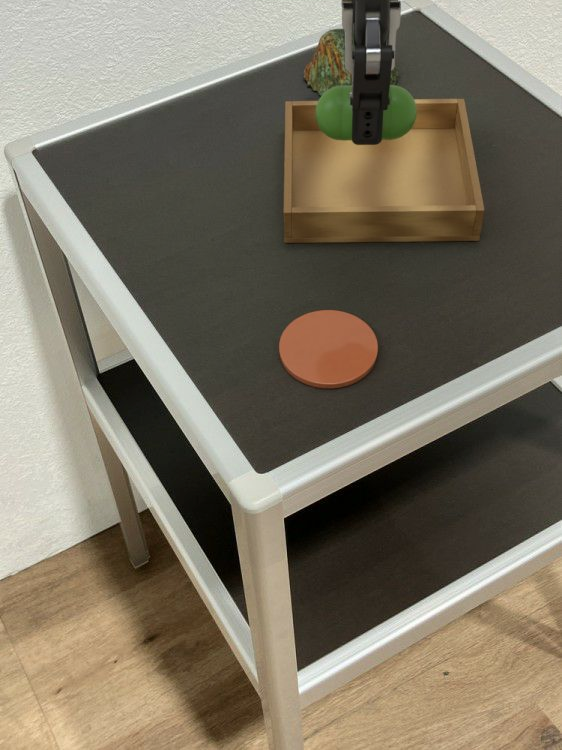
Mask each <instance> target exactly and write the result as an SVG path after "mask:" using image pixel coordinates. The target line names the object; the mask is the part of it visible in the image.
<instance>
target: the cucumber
mask: <svg viewBox="0 0 562 750" xmlns="http://www.w3.org/2000/svg"><path fill="white" fill-rule="evenodd" d="M350 91H352V85H348V86H336V87H333V88H331V89H329V90H327V91H326V92H325V93H324V94H323V95H322V96H321V95H320V97H319V99H318V100H317V101H318V103H317V106H316V113H315V114H316V121H317V124H318V126H319V128H320V129H321V131H322V132H323V133H324V134H325V135H326V136H328V137H330V138H332V139H335V140H342V141H345V140H352V105H350ZM389 97H390V105H388V109H387V110H383V127H382V140H394V139H398V138H400V137H402V136H404V135H405V134H406V133H408V132H409V131H410V129H411V128H412V127H413V125H414V123H415V120H416V116H417V107H416V104H415V101H414V99H415V98H414V97H413V96H412V94H411V93H410V92H409V91H408V90H407V89H406V88H404V87H402V86H399V85H390V88H389Z"/></svg>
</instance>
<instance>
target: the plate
mask: <svg viewBox="0 0 562 750" xmlns="http://www.w3.org/2000/svg"><path fill="white" fill-rule="evenodd" d="M278 344H279V345H278V355H279V359H280V362H281V364H282V366H283V367H284V370H286V372H287V373H288V374H289V375H290V376H291V377H292V378H294V379H295V380H296V381H298V382H300V383H302V384H304V385H307V386H309V387H313V388H318V389H329V390H330V389H331V390H332V389H339V388H344V387H348V386H351V385H353V384H356V383H357V382H359V381H361V380H362V379H364V378H365V377H366V376H367V375H369V374H370V373H371V371H372V369H373V368H374V366H375V365H376V363H377V360H378V354H379V343H378V339H377V336H376V333H375V332H374V330H372V327H370V325H369V324H367V322H365V321H364V320H362V319H361V318H359V317H358V316H356V315H354V314H352V313H349V312H345V311H341V310H335V309H320V310H314V311H310V312H308V313H305V314H303V315H300V316H298V317H297V318H295V319H293V321H292V322H290V323H288V325H287V326H286V327H285V329H284V330H283V331H282V334H281V336H280V337H279V342H278Z"/></svg>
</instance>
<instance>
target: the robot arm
mask: <svg viewBox="0 0 562 750" xmlns="http://www.w3.org/2000/svg"><path fill="white" fill-rule="evenodd" d="M340 2H341V27H342V29H344V36H345V68H346V70H347V71H348V72H350V73H351V85H352V91H350V105H352V142H353V143H354V144H356V145H377V144H379V143H380V142H381V141H382V127H383V110H387V109H388V105H390V97H389V88H390V78H391V71H392V70H393V69H394V67H395V65H396V49H397V48H396V45H397V31H398V30H399V28H400V27H401V17H402V16H401V15H402V1H401V0H341V1H340Z"/></svg>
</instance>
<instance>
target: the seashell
mask: <svg viewBox="0 0 562 750" xmlns="http://www.w3.org/2000/svg"><path fill="white" fill-rule="evenodd" d="M317 43H318V44H317V47H316V49H315V52H314V54H313V56H312V58H311V60H310V61H309V62H308V63H307V64H306V66H305V67H304V70H303V79H304V80H305V81H306V82H307V86H309V87H311V88H312V91H314V92H317V94H318V95H319V96H320V97H321V96H322V95H323V94H324V93H325V92H326V91H327V90H329V89H331V88H333V87H336V86H348V85H351V73H350V72H348V71H347V70H346V68H345V36H344V29H343V28H334V29H329V30H328V31H325V32H324V33H323V34H322V35H321V36H320V38H319V40H318V42H317ZM399 75H400V74H399V69H398V67H397V65H396V64H395V67H394V69H393V70H392V71H391V78H390V85H396V84H397V82H398V81H399V80H398V79H399ZM396 86H397V85H396Z"/></svg>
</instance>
